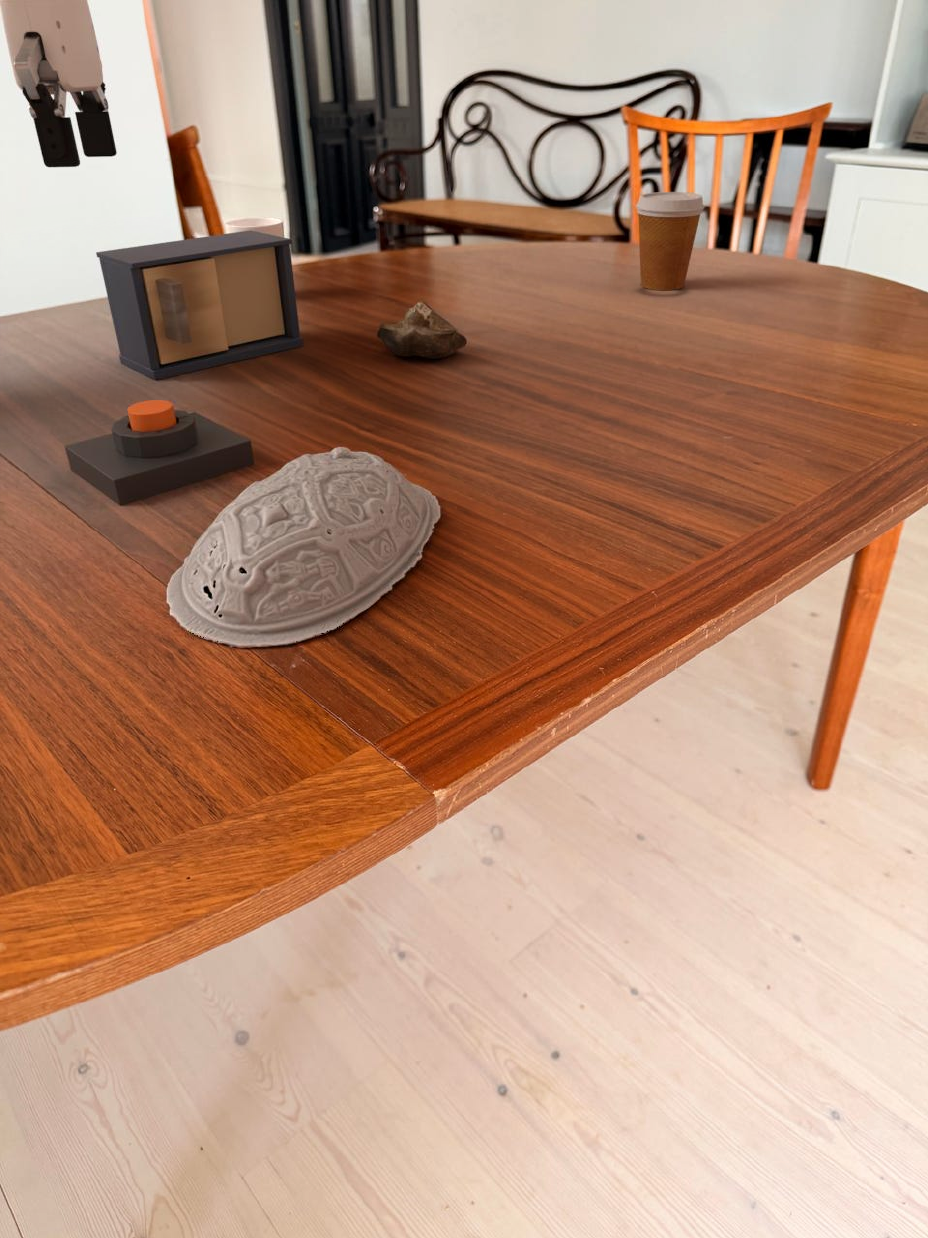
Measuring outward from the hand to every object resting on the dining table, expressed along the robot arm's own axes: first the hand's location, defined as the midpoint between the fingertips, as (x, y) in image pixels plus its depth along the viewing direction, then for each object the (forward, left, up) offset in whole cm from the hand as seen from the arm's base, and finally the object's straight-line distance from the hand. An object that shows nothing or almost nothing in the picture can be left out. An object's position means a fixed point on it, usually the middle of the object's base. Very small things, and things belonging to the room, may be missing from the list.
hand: (82, 161), depth 88 cm
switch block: (-9, -27, -21) cm, 36 cm away
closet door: (+7, -5, -20) cm, 21 cm away
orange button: (-9, -27, -18) cm, 34 cm away
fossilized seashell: (+28, -17, -21) cm, 39 cm away
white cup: (+31, +23, -21) cm, 44 cm away
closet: (+11, +1, -21) cm, 24 cm away
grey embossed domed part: (-8, -49, -21) cm, 54 cm away
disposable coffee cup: (+76, -14, -21) cm, 80 cm away
